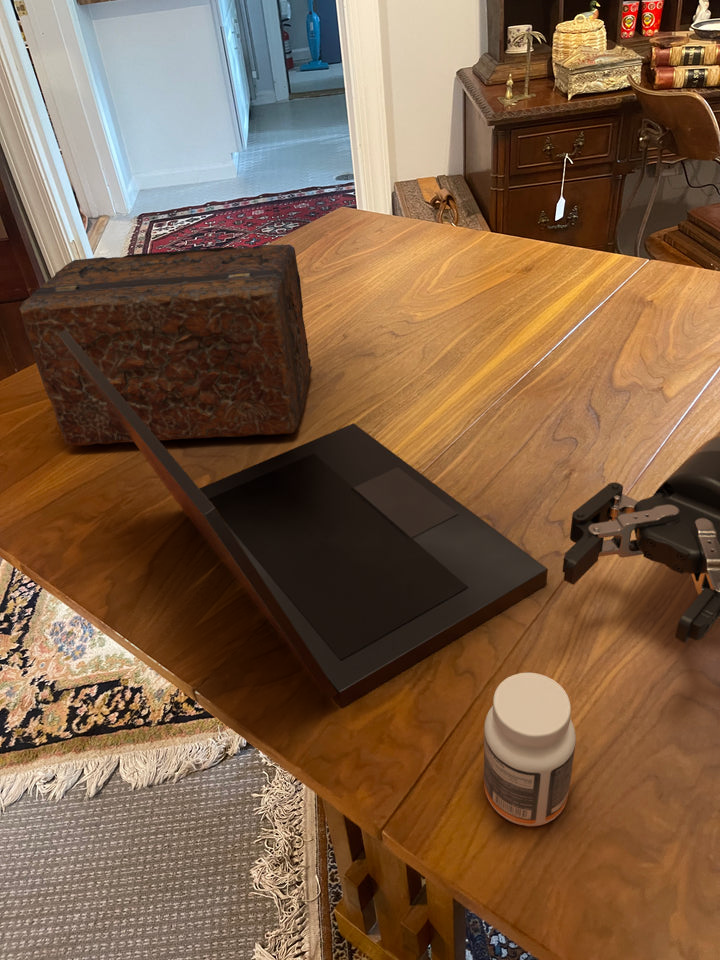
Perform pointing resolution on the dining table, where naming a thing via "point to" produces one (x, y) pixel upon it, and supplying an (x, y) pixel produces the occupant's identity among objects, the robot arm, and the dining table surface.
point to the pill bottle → (528, 749)
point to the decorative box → (175, 342)
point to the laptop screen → (200, 514)
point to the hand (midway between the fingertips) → (622, 602)
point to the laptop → (369, 556)
